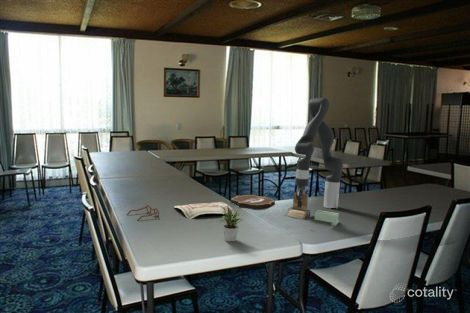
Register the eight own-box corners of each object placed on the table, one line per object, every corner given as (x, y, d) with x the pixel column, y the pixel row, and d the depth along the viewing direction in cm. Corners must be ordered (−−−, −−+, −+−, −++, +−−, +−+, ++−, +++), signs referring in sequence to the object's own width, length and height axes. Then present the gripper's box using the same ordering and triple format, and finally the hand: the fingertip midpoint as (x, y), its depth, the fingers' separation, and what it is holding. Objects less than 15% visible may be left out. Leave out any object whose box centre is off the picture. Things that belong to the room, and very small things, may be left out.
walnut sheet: (293, 212, 221) (294, 192, 220) (306, 215, 218) (308, 194, 217) (292, 213, 220) (293, 193, 218) (305, 215, 216) (307, 195, 215)
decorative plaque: (258, 207, 224) (220, 198, 243) (257, 212, 225) (220, 203, 244) (285, 200, 248) (248, 192, 266) (284, 205, 248) (248, 197, 267)
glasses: (159, 218, 201) (160, 209, 201) (137, 221, 193) (137, 212, 192) (147, 212, 211) (147, 203, 210) (125, 215, 202) (125, 206, 202)
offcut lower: (290, 214, 218) (290, 211, 218) (305, 216, 214) (305, 214, 214) (287, 216, 214) (287, 213, 213) (303, 218, 210) (303, 216, 210)
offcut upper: (290, 211, 217) (290, 209, 217) (306, 214, 214) (306, 211, 214) (288, 213, 213) (288, 211, 213) (304, 216, 209) (304, 213, 209)
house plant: (205, 239, 170) (207, 204, 169) (223, 232, 182) (225, 199, 180) (231, 247, 162) (233, 210, 161) (248, 239, 174) (250, 204, 172)
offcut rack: (289, 213, 225) (289, 206, 224) (312, 217, 218) (312, 210, 218) (282, 218, 214) (283, 210, 213) (306, 222, 208) (307, 214, 207)
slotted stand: (317, 218, 217) (318, 209, 217) (338, 222, 212) (339, 212, 211) (313, 221, 210) (314, 212, 209) (335, 225, 205) (336, 215, 204)
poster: (216, 209, 239) (171, 211, 225) (217, 200, 238) (171, 200, 224) (237, 218, 214) (187, 220, 200) (238, 207, 214) (188, 208, 200)
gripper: (299, 175, 224) (297, 203, 226) (292, 178, 212) (290, 208, 214) (311, 176, 221) (309, 205, 223) (305, 179, 209) (303, 210, 210)
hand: (300, 206), depth 218 cm, fingers closed on walnut sheet, 1 cm apart
